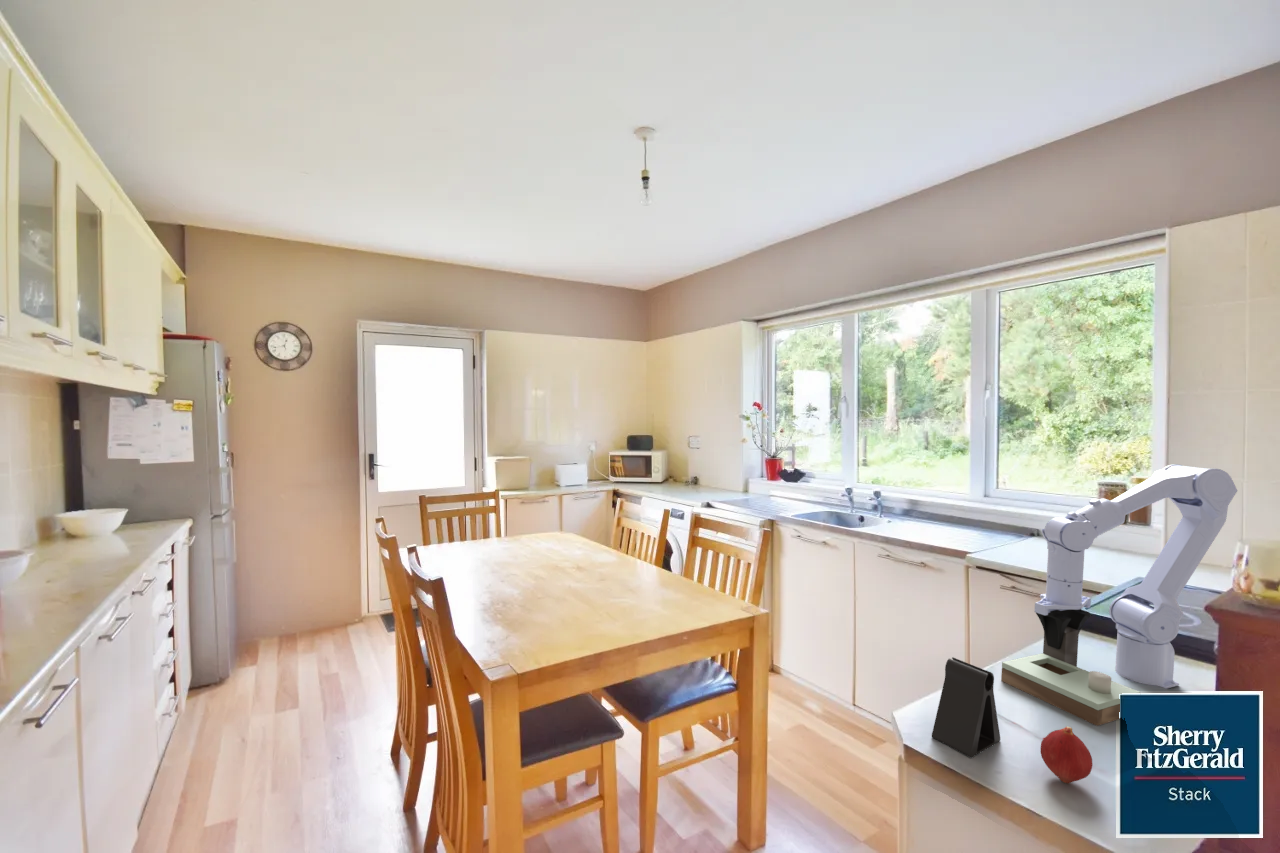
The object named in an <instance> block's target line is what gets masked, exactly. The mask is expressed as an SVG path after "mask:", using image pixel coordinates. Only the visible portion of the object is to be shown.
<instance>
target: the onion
mask: <svg viewBox="0 0 1280 853" xmlns="http://www.w3.org/2000/svg"><path fill="white" fill-rule="evenodd" d="M1040 755H1041V758H1042V761H1043V762H1044V763H1045V765H1046V767H1047V768H1048V769H1049V770H1050V771H1051V773H1053V775H1055V776H1056V777H1057V778H1058V779H1059V780H1060V781H1061V782H1062V783H1064V784H1071V783H1074V782H1077V781H1080V780H1083V779H1085V778H1087V777H1088V776H1089V775H1090V774H1091V772H1092V769H1093V758H1092V757H1093V756H1092V754H1091V752H1090V750H1089V748H1088V747H1087V746H1086V744H1085V743H1084V741H1082V740H1081V738H1079V737H1078V736H1077V735H1076V734H1074V732H1073V728H1072V727H1070V726H1065V727H1064V728H1061V729H1057V730H1054V731H1050V732H1049V733H1048V734H1047V735H1046V736H1045V737H1044V738H1042V740H1041V742H1040Z"/></svg>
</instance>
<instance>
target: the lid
mask: <svg viewBox="0 0 1280 853" xmlns="http://www.w3.org/2000/svg"><path fill="white" fill-rule="evenodd" d="M1045 663H1049V664H1051V665H1054V666H1056V667H1059V668H1061V669H1063V670H1066V671H1068V672H1071V673H1067V674H1063V675H1059V674H1057V673H1054V672H1052V671H1050V670H1047V669H1045V668H1042V667H1040V666H1038V665H1041V664H1045ZM1002 668H1005V669H1007V670H1009V671H1011V672H1014V673H1016V674H1018V675H1020V676H1022V677H1025V678H1027V679H1029V680H1031V681H1034V682H1036V683H1038V684H1040V685H1043V686H1045V687H1047V688H1049V689H1051V690H1054V691H1056V692H1058V693H1060V694H1063V695H1065V696H1067V697H1069V698H1072V699H1074V700H1076V701H1078V702H1080V703H1083V704H1085V705H1087V706H1089V707H1092V708H1094V709H1096V710H1101V709H1104V708H1108V707H1111V706H1114V705H1118V704H1120V699H1119V694H1122V693H1140V694H1141V692H1140V691H1139V690H1136V689H1134V688H1130V687H1129V686H1126V685H1123V684H1121V683H1118V682H1116V681H1113V680H1112V677H1111V676H1110V675H1109V674H1106V673H1104V672H1100V671H1095V670H1092V671H1088V670H1086V669H1083V668H1080V667H1078V666H1077V667H1076V666H1073V665H1071V664H1068V663H1066V662H1063V661H1061V660H1058V659H1056V658H1053V657H1051V656H1048V655H1045V654H1043V652H1042V653H1038V654H1033V655H1029V656H1023V657H1020V658H1015V659H1011V660H1005V661H1002V662H1001V669H1002Z"/></svg>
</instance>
